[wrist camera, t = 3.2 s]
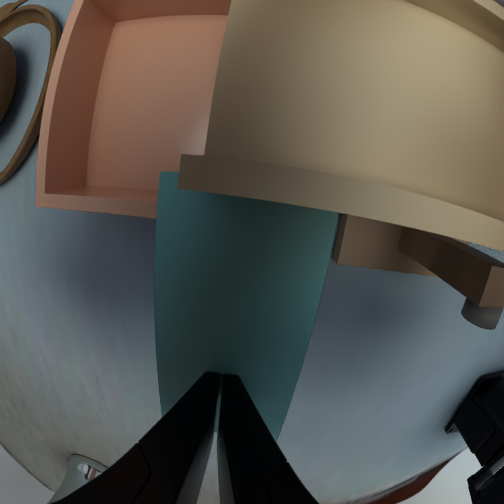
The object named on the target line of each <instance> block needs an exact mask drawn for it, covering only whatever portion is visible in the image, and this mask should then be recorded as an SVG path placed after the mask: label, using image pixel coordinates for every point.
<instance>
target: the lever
mask: <svg viewBox="0 0 504 504" xmlns="http://www.w3.org/2000/svg"><path fill="white" fill-rule="evenodd" d="M339 213H344V214H349V215H354V216H359V217H364V218H369V219H374V220H379V221H384V222H388V223H393V224H397V225H402V226H406V227H411V228H415V229H419V230H424V231H428V232H432V233H436V234H440V235H444V236H448V237H452V238H456V239H460V240H464V241H467V242H471V243H475V244H479V245H482V246H486V247H489V248H493V249H496V250H500V251H503V252H504V8H503V7H502V6H501V5H499V4H498V3H496V2H495V1H493V0H231V5H230V9H229V14H228V18H227V23H226V27H225V32H224V37H223V42H222V47H221V52H220V57H219V63H218V68H217V74H216V80H215V85H214V91H213V97H212V104H211V110H210V117H209V124H208V131H207V138H206V145H205V153H204V156H201V155H189V154H181V159H180V168H179V172H177V171H164V172H160V176H159V187H158V199H157V214H156V232H155V263H154V309H155V339H156V357H157V371H158V383H159V394H160V403H161V412H162V417H163V416H164V415H165V414H166V413H167V412H168V411H169V410H170V409H171V408H172V406H173V405H174V404H175V403H176V402H177V401H178V400H179V399H180V398H181V397H182V396H183V395H184V394H185V393H186V392H187V391H188V390H189V388H190V387H191V386H192V385H193V384H194V383H195V382H196V381H197V380H198V379H199V378H200V377H201V376H202V374H203V373H204V372H206V371H212V372H218V373H220V383H219V393H218V402H217V411H216V419H215V428H214V432H216V433H218V424H219V414H220V404H221V395H222V386H223V378H224V374H226V373H227V374H236V375H239V377H240V378H241V380H242V382H243V384H244V386H245V388H246V390H247V391H248V393H249V395H250V397H251V399H252V401H253V402H254V404H255V406H256V408H257V410H258V411H259V413H260V415H261V417H262V418H263V420H264V422H265V424H266V425H267V427H268V429H269V431H270V432H271V434H272V436H273V438H274V439H275V441H276V442H277V439H278V436H279V434H280V431H281V428H282V425H283V422H284V420H285V417H286V414H287V411H288V408H289V405H290V402H291V399H292V396H293V393H294V390H295V387H296V383H297V380H298V377H299V374H300V371H301V367H302V364H303V361H304V357H305V354H306V350H307V347H308V343H309V340H310V336H311V333H312V329H313V325H314V321H315V318H316V314H317V310H318V306H319V302H320V298H321V294H322V290H323V286H324V281H325V277H326V273H327V268H328V264H329V259H330V255H331V250H332V245H333V240H334V235H335V230H336V225H337V220H338V214H339Z"/></svg>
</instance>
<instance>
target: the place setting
mask: <svg viewBox="0 0 504 504" xmlns="http://www.w3.org/2000/svg"><path fill="white" fill-rule="evenodd" d="M25 1H27V0H19V1H17V2H15V3H9V4H6V5H4V6H3V7H1V8H0V121H1V120H2V119H3V117H4V116H5V115H6V113H7V111H8V109H9V107H10V105H11V103H12V100H13V97H14V94H15V89H16V82H17V77H16V69H17V63H16V55H15V51H14V49H13V47H12V46H11V44H10V43H9V42H8V41H6V40H5V39H3V38H4V37H5V36H6V35H7V34H8V33H10V32H11V31H13V30H14V29H16V28H17V27H20V26H22V25H25V24H28V23H40V24H42V25H44V26H45V27H46V28H47V29H48V30H49V31H50V34H51V48H50V56H49V62H48V67H47V72H46V76H45V80H44V84H43V87H42V90H41V94H40V97H39V100H38V103H37V106H36V108H35V111H34V114H33V117H32V119H31V121H30V124H29V126H28V129H27V131H26V133H25V135H24V137H23V139H22V141H21V143H20V145H19V147H18V149H17V151H16V153H15V154H14V156H13V157H12V159H11V161H10V162H9V164H8V165H7V167H6V168H5V169H4V171H2V172H1V173H0V185H1V184H2V183H3V182H5V181H6V180H7V179H8V178H9V177H10V176H11V175H12V174H13V173H14V172H15V171H16V169H17V168H18V167H19V166H20V164H21V163H22V162H23V160H24V159H25V157H26V156H27V154H28V153H29V151H30V149H31V147H32V146H33V144H34V142H35V140H36V138H37V136H38V134H39V132H40V128H41V121H42V114H43V108H44V102H45V97H46V92H47V87H48V83H49V78H50V74H51V70H52V66H53V63H54V59H55V55H56V52H57V49H58V45H59V42H60V39H61V30H60V27H59V24H58V21H57V20H56V18H55V17H54V15H53V14H52V13H51V12H50V11H49V10H47V9H46V8H45V7H42V6H40V5H33V4H32V5H26V6H23V7H20V8H17V9H15V8H16V7H17V6H19V5H20V4H22V3H23V2H25ZM14 9H15V10H14Z"/></svg>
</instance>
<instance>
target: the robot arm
mask: <svg viewBox="0 0 504 504" xmlns="http://www.w3.org/2000/svg"><path fill="white" fill-rule="evenodd" d="M219 383H220V373H218V372H212V371H206V372H204V373H203V374H202V376H201V377H200V378H199V379H198V380H197V381H196V382H195V383H194V384H193V385H192V386H191V387H190V388H189V390H188V391H187V392H186V393H185V394H184V395H183V396H182V397H181V398H180V399H179V400H178V401H177V402H176V403H175V404H174V405H173V406H172V408H171V409H170V410H169V411H168V412H167V413H166V414H165V415H164V416H163V417H162V418H161V419H160V420H159V421H158V422H157V423H156V424H155V425H154V426H153V427H152V428H151V429H150V430H149V431H148V432H147V433H146V434H145V435H144V436H143V437H142V438H141V439H140V440H139V441H138V443H136V444H135V445H134V446H133V447H132V448H131V449H130V450H129V451H128V452H127V453H126V454H124V455H123V456H122V457H121V458H120V459H119V460H118V461H117V462H115V463H114V464H113V465H112V466H110V467H109V468H108V469H106V470H105V471H104V472H102V473H101V474H99V475H98V476H96V477H95V478H94V479H92V480H91V481H89V482H87V483H86V484H84V485H83V486H81V487H80V488H78V489H77V490H75V491H74V492H72V493H70V494H69V495H67V496H65V497H64V498H62V499H60V500H58V501H55V502H52V503H49V504H196V503H197V499H198V496H199V492H200V488H201V485H202V481H203V477H204V474H205V470H206V466H207V462H208V459H209V455H210V451H211V447H212V443H213V437H214V428H215V419H216V411H217V402H218V393H219ZM456 431H459V432H460V434H461V435H462V437H463V439H464V441H465V442H466V444H467V446H468V447H469V449H470V451H471V452H472V453H473V454H475V456H476V457H477V459H478V461H479V463H480V464H481V466H483V467H482V468H481V469H480V470H479V471H478V472H476V473H475V474H474V475H472V476H470V477H469V478H468V479H467V481H468V485H469V487H468V488H469V492H470V496H471V500H472V504H504V466H503V465H504V371H503V372H499V373H495V374H490V375H486V376H483V377H481V378H480V379H479V380H478V382H477V383H476V385H475V387H474V388H473V390H472V391H471V393H470V394H469V396H468V398H467V399H466V401H465V402H464V404H463V405H462V407H461V408H460V409H459V411H458V412H457V414H456V415H455V417H454V418H453V419H452V421H451V422H450V423H449V425H448V426H447V427H446V429H445V432H446V434H449V433H453V432H456ZM217 461H218V479H219V494H220V504H319V503H318V502H317V501H316V499H315V498H314V497H313V496H312V495H311V493H310V492H309V491H308V490H307V489H306V487H305V486H304V485H303V483H302V482H301V480H300V479H299V478H298V476H297V475H296V473H295V472H294V470H293V469H292V467H291V465H290V464H289V462H287V459H286V458H285V456H284V454H283V453H282V451H281V449H280V448H279V446H278V444H277V443H276V441H275V439H274V438H273V436H272V434H271V432H270V431H269V429H268V427H267V425H266V424H265V422H264V420H263V418H262V417H261V415H260V413H259V411H258V410H257V408H256V406H255V404H254V402H253V401H252V399H251V397H250V395H249V393H248V391H247V390H246V388H245V386H244V384H243V382H242V380H241V378H240V377H239V375H236V374H227V373H226V374H224V378H223V386H222V395H221V404H220V414H219V424H218V434H217ZM484 465H485V466H484ZM502 466H503V467H502ZM500 467H502V468H500ZM497 470H498V471H497ZM496 471H497V472H496ZM495 472H496V473H495ZM494 473H495V474H494ZM493 474H494V475H493Z"/></svg>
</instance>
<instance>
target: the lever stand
mask: <svg viewBox="0 0 504 504" xmlns="http://www.w3.org/2000/svg"><path fill="white" fill-rule="evenodd" d="M493 1H495V2H496V3H498V4H499V5H501V6H502V7H503V8H504V0H493ZM467 243H468V242H467V241H464V240H460V239H456V238H452V237H448V236H444V235H440V234H436V233H432V232H428V231H424V230H419V229H415V228H411V227H406V226H402V225H397V224H393V223H388V222H384V221H379V220H374V219H369V218H364V217H359V216H354V215H349V214H344V213H341V219H340V224H339V229H338V234H337V239H336V244H335V249H334V253H333V259H334V260H335V262H336V263H337V264H342V265H350V266H357V267H365V268H373V269H381V270H389V271H396V272H404V273H412V274H420V275H428V276H435V277H439V278H441V279H442V280H444V281H445V282H446V283H448V284H449V285H451V286H452V287H453V288H455V289H456V290H457V291H459V292H460V293H461V294H463V295H464V296H465V297H467V298H466V300H465V303H464V306H463V308H462V311H461V314H462V316H463V317H464V318H465V319H466V320H467V321H469V322H470V323H472V324H474V325H476V326H478V327H480V328H483V329H488V330H492V329H495V328H496V325H497V323H498V321H499V318H500V316H501V313H502V311H503V307H504V263H502V262H500V261H499V260H497V259H495V258H493V257H491V256H489V255H487V254H485V253H483V252H481V251H479V250H477V249H475V248H473V247H470V246H468V245H467Z"/></svg>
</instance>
